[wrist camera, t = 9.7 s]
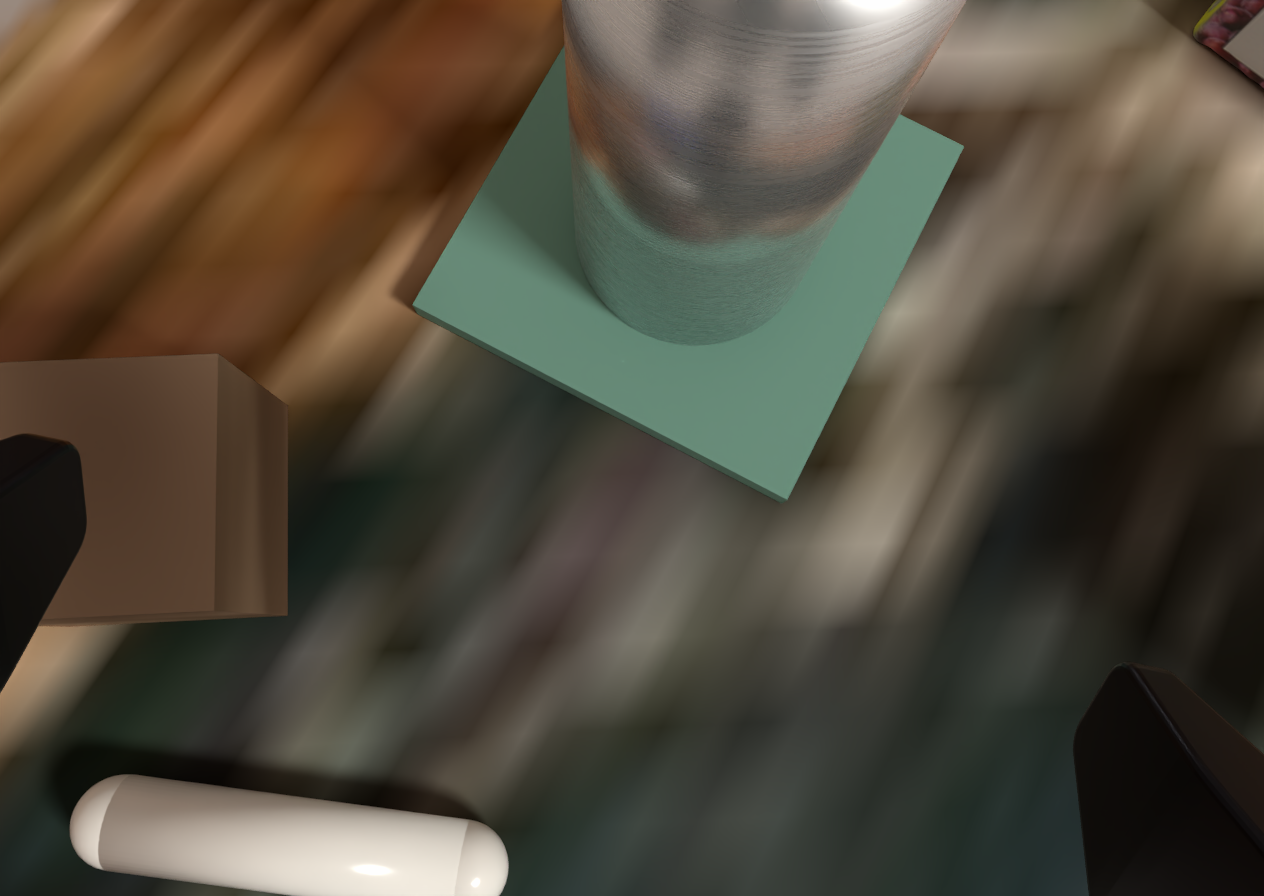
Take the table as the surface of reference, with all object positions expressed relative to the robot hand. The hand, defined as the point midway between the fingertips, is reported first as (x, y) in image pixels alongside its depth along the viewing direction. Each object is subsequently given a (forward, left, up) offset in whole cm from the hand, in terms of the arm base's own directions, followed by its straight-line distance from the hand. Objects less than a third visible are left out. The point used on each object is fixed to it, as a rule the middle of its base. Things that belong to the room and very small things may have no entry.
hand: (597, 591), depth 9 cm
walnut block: (+8, +2, -11) cm, 14 cm away
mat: (+2, -8, -11) cm, 14 cm away
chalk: (+3, +6, -11) cm, 13 cm away
